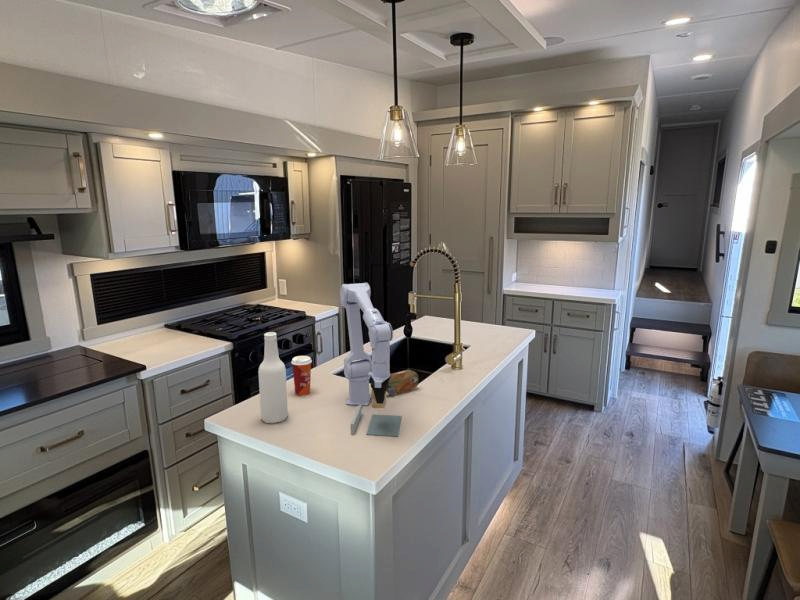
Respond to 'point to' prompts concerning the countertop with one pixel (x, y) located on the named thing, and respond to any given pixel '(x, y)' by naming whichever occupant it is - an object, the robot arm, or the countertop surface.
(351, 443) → the countertop surface
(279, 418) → the alcohol
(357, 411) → the low wall
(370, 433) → the mat
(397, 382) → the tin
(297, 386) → the paper cup
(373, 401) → the oak block
